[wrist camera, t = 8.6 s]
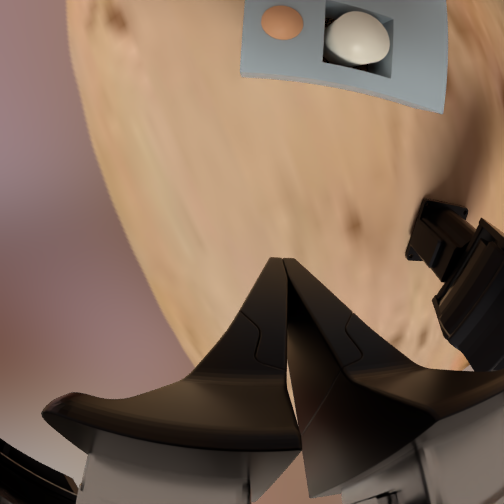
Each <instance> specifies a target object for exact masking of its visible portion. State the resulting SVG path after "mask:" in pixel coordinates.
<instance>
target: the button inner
mask: <svg viewBox="0 0 504 504" xmlns="http://www.w3.org/2000/svg"><path fill="white" fill-rule="evenodd" d="M389 47H390V40H389V36H388V33H387V31H386V29H385V28H384V26H383V25H382V24H381V23H380V22H379V21H378V20H377V19H376V18H374V17H373V16H371V15H369V14H367V13H364V12H359V11H352V12H348V13H345V14H343V15H342V16H341V17H339V18H338V19H337V20H335V21H334V22H333V23H332V24H330V25H329V26H328V27H327V28H325V29H324V45H323V56H324V57H325V58H326V59H327V60H328V61H329V62H330V63H332V64H335V65H340V66H344V67H354V66H359V65H363V64H369V63H374V62H378V61H380V60H382V59H383V58H384V57H385V56H386V55H387V53H388V51H389Z"/></svg>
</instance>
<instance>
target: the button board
mask: <svg viewBox="0 0 504 504" xmlns="http://www.w3.org/2000/svg"><path fill="white" fill-rule="evenodd" d="M352 11H359V12H364V13H367V14H369V15H371V16H373V17H374V18H376V19H377V20H378V21H379V22H380V23H381V24H382V25H383V26H384V28H385V29H386V31H387V33H388V36H389V40H390V47H389V51H388V53H387V55H386V56H385V57H384V58H383V59H382V60H380V61H378V62H374V63H369V64H368V72H365V71H361V70H357V69H353V68H349V67H344V66H340V65H335V64H330V63H324V62H322V59H323V45H324V27H325V18H329V19H334V20H337V19H338V18H339V17H341V16H342V15H343V14H345V13H348V12H352ZM447 66H448V21H447V6H446V0H245V8H244V21H243V34H242V48H241V63H240V74H241V76H242V77H249V78H265V79H277V80H287V81H296V82H303V83H310V84H317V85H323V86H329V87H334V88H340V89H345V90H350V91H354V92H359V93H363V94H367V95H371V96H375V97H379V98H383V99H386V100H390V101H393V102H397V103H400V104H403V105H406V106H409V107H412V108H416V109H421V110H426V111H431V112H435V113H439V114H443V111H444V103H445V94H446V82H447Z"/></svg>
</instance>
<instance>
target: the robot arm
mask: <svg viewBox="0 0 504 504" xmlns="http://www.w3.org/2000/svg"><path fill="white" fill-rule="evenodd" d="M427 203H428V205H427V206H426V204H427ZM467 214H468V209H467V208H466V207H464V206H460V205H455V204H451V203H446V202H441V201H436V200H431V199H424V200H423V202H422V205H421V208H420V211H419V215H418V218H417V221H416V224H415V228H414V231H413V234H412V237H411V240H410V243H409V246H408V248H407V251H406V254H405V257H406V258H407V259H408V260H410V261H424V262H425V263H426V265H427V266H428V267H429V268H431V269H432V271H433V272H434V273H435V274H436V276H437V277H438V278H439V280H440V281H441V282H444V285H443V286H442V288H441V289H440V291H439V292H438V294H437V295H435V296H434V298H433V299H432V302H433V305H434V308H435V311H436V314H437V318H438V321H439V324H440V327H441V330H442V333H443V336H444V338H446V339H447V340H448V342H449V343H450V344H451V345H453V346H454V347H455V348H456V349H458V350H460V351H461V352H462V353H463V354H464V356H465V357H466V359H467V360H468V362H469V363H470V365H471V367H472V368H473V370H474V372H473V371H454V370H439V369H429V368H425V367H422V366H420V365H418V364H416V363H414V362H413V361H411V360H410V359H409V358H407V357H406V356H405V355H404V354H402V353H401V352H400V351H398V350H397V349H396V348H395V347H393V346H392V345H391V344H390V343H388V342H387V341H386V340H384V339H383V338H382V337H381V336H379V335H378V334H377V333H376V332H375V331H373V330H372V329H371V328H370V327H369V326H368V325H366V324H365V323H364V322H363V321H362V320H361V319H360V318H359V317H358V316H357V315H356V314H354V313H352V311H351V310H350V309H349V308H348V307H347V306H346V305H345V304H344V303H343V302H341V301H340V300H339V299H338V298H337V297H336V296H335V295H334V294H333V293H332V292H331V291H330V290H329V289H327V288H326V287H325V286H324V285H323V284H322V283H321V282H320V281H319V280H318V279H317V278H315V277H314V276H313V275H312V274H311V273H310V272H309V271H308V270H307V269H306V268H305V267H303V266H302V265H301V264H300V263H299V262H298V261H297V260H296V259H294V258H283V259H282V258H276V257H270V258H269V260H268V261H267V263H266V265H265V267H264V268H263V270H262V272H261V274H260V275H259V277H258V279H257V281H256V282H255V284H254V286H253V288H252V289H251V291H250V293H249V295H248V296H247V298H246V300H245V302H244V303H243V305H242V307H241V308H240V310H239V312H238V313H237V315H236V317H235V318H234V320H233V322H232V323H231V325H230V326H229V328H228V329H227V331H226V332H225V333H224V335H223V336H222V337H221V338H220V340H219V341H218V342H217V343H216V345H215V346H214V347H213V348H212V349H211V350H210V351H209V353H208V354H207V355H206V356H205V357H204V358H203V360H202V361H201V362H200V363H199V364H198V365H197V366H196V368H195V369H194V370H193V371H192V372H191V373H190V374H189V375H188V376H186V377H185V378H184V379H182V380H180V381H178V382H175V383H173V384H170V385H167V386H164V387H161V388H159V389H155V390H152V391H150V392H146V393H143V394H140V395H137V396H134V397H130V398H125V399H104V398H99V397H95V396H91V395H88V394H83V393H78V392H71V393H68V394H66V395H63V396H60V397H58V398H56V399H54V400H53V401H51V402H50V403H49V404H48V405H46V407H45V408H44V409H43V411H42V412H41V414H42V417H43V418H44V420H45V421H46V422H47V423H48V424H49V425H50V426H51V427H53V428H54V429H55V430H56V431H57V432H59V433H60V434H61V435H62V436H64V437H65V438H66V439H67V440H69V441H70V442H72V443H73V444H74V445H75V446H77V447H78V448H79V449H81V450H82V451H84V452H85V453H86V454H88V456H87V461H86V465H85V469H84V474H83V478H82V483H81V484H80V485H79V489H78V487H77V485H76V484H75V482H74V480H73V479H72V478H70V477H69V476H66V475H65V474H63V473H60V472H58V471H56V470H54V469H52V468H50V467H48V466H46V465H44V464H42V463H40V462H38V461H36V460H34V459H33V458H31V457H29V456H27V455H26V454H24V453H22V452H20V451H19V450H17V449H15V448H14V447H12V446H11V445H9V444H8V443H6V442H5V441H3V440H2V439H1V438H0V504H251V502H256V501H257V500H258V499H259V498H260V497H261V496H262V495H263V494H264V493H265V491H267V490H268V489H269V487H270V486H271V485H272V484H273V483H274V482H275V481H276V480H277V478H279V477H280V475H281V474H282V473H283V472H284V471H285V470H286V469H287V468H288V466H289V465H290V464H291V463H292V462H293V460H294V459H295V458H296V457H297V456H298V454H299V453H300V452H301V451H302V452H303V459H304V465H305V472H306V478H307V485H308V491H309V498H316V497H323V496H329V495H335V494H341V496H342V504H504V233H503V232H501V231H500V230H499V229H497V228H496V227H494V226H493V225H492V224H490V223H489V222H487V221H486V220H484V219H483V218H481V219H480V221H479V225H478V227H477V229H475V228H474V227H473V226H472V225H471V224H469V223H468V222H467V221H466V217H467ZM410 254H411V255H410ZM409 255H410V256H409ZM287 361H288V367H289V372H290V378H291V384H292V390H293V396H294V402H295V408H296V414H297V420H298V424H297V420H296V417H295V414H294V410H293V407H292V403H291V400H290V397H289V393H288V390H287V373H286V372H287Z"/></svg>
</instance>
